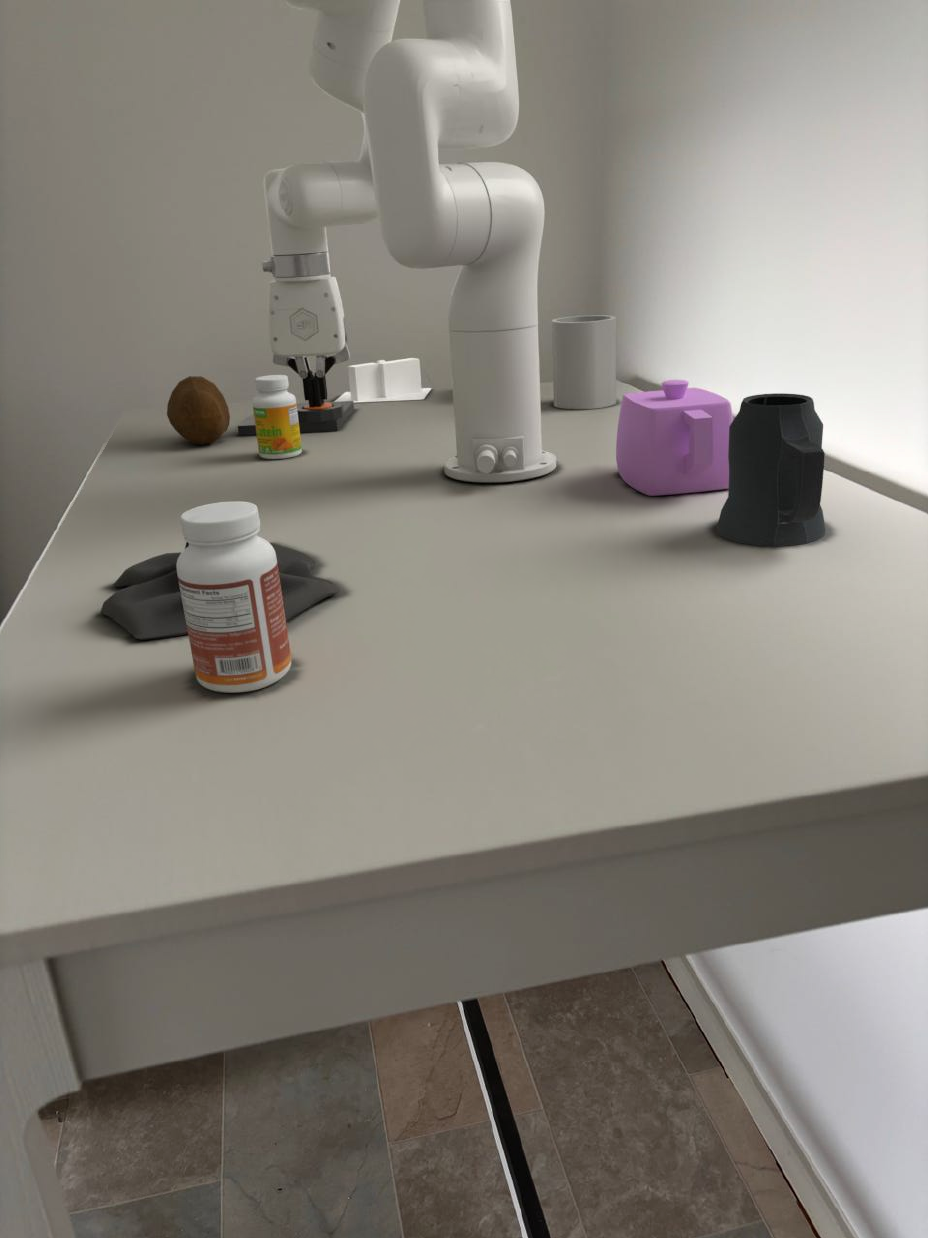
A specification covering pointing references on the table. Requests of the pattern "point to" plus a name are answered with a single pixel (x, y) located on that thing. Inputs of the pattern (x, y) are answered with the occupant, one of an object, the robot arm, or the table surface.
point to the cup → (584, 361)
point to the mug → (774, 472)
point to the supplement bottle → (276, 418)
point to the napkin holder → (385, 381)
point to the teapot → (674, 440)
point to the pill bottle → (232, 599)
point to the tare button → (325, 405)
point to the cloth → (159, 603)
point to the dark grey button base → (310, 418)
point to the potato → (198, 410)
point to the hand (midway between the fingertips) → (317, 404)
